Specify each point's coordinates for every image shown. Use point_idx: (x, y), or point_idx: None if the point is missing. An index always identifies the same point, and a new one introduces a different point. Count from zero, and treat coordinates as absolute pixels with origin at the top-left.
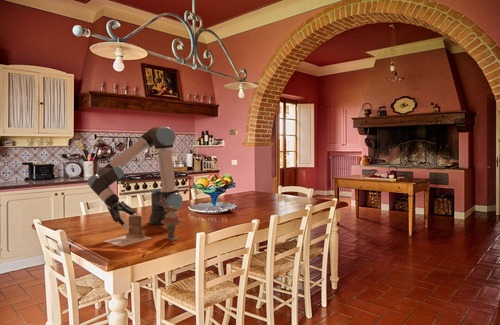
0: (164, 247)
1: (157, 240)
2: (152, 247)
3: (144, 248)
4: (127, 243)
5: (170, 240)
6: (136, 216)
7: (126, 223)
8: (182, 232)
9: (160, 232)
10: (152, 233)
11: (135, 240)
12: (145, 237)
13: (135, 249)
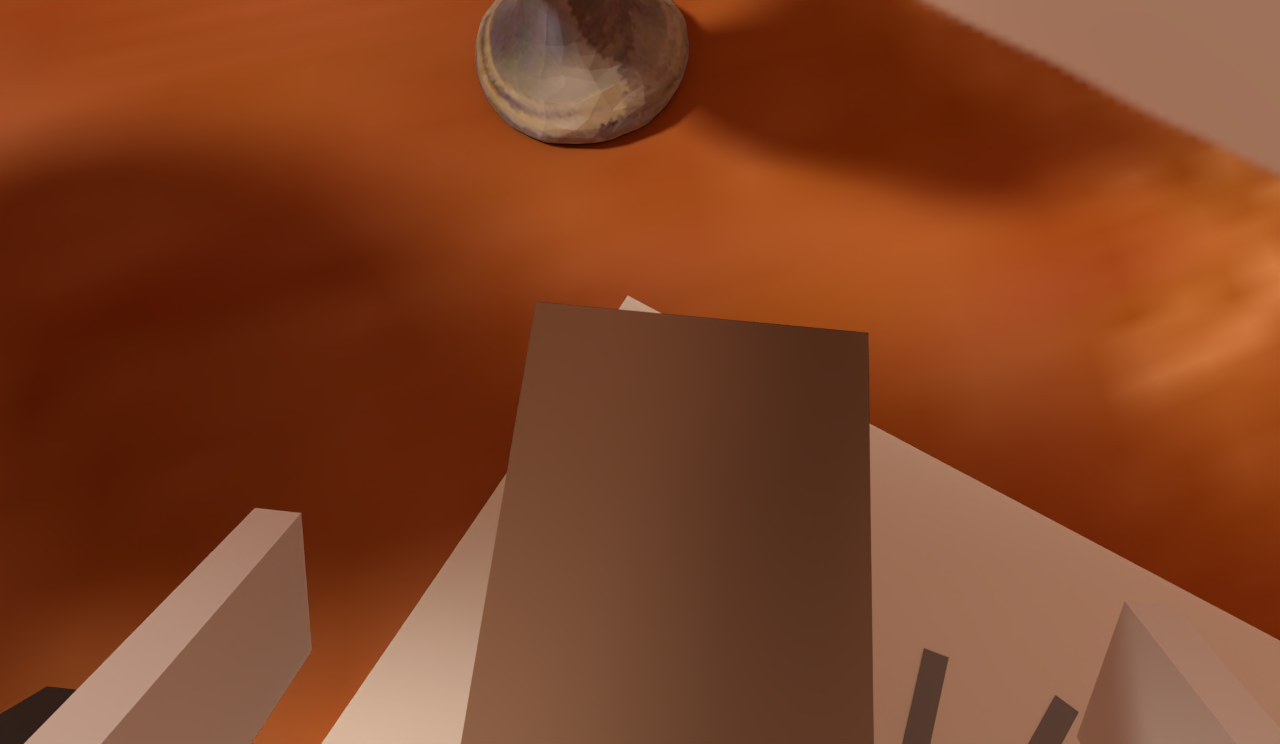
0: (1000, 46)
1: (650, 232)
2: (1049, 191)
3: (1137, 285)
4: None
5: (686, 34)
6: (677, 478)
7: (1266, 732)
8: (134, 7)
9: (64, 341)
10: (123, 473)
11: None
12: None
13: (1239, 404)
